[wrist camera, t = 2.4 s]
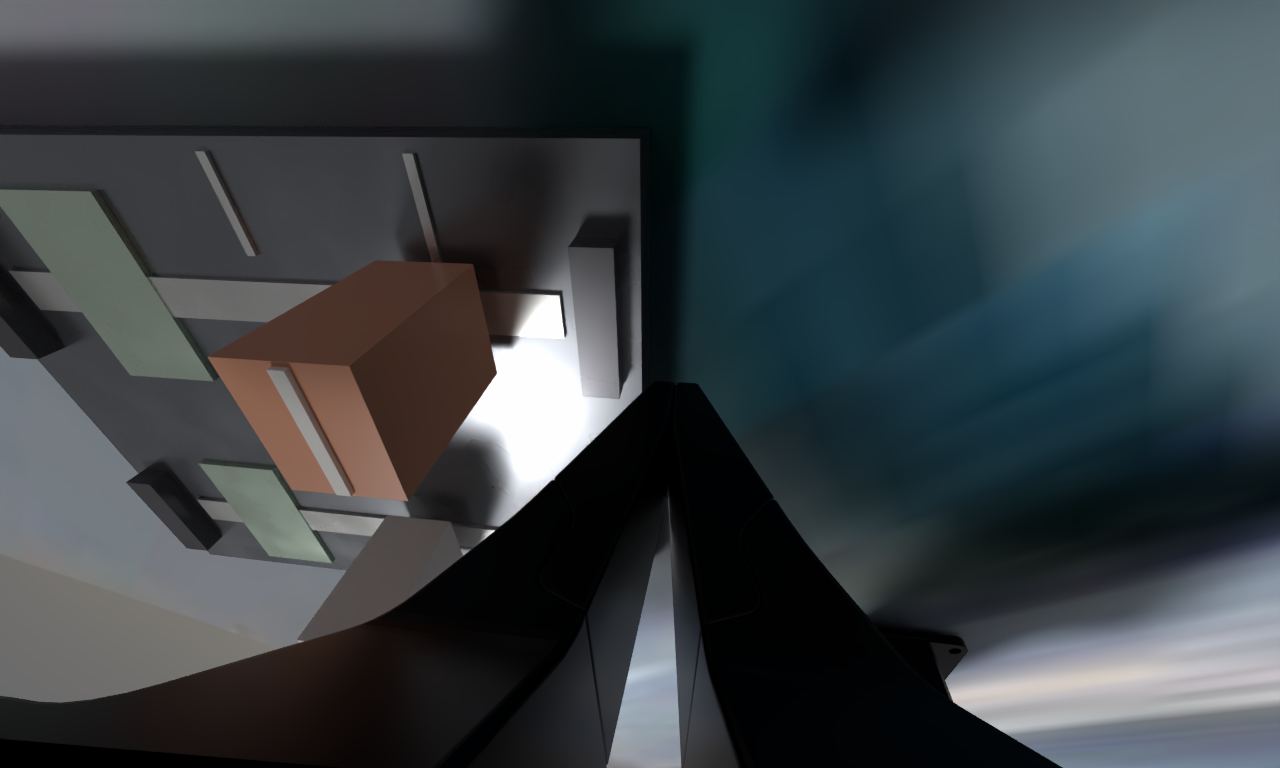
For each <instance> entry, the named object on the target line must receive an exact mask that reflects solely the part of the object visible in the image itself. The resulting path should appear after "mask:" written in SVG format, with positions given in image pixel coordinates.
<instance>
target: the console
mask: <svg viewBox="0 0 1280 768" xmlns="http://www.w3.org/2000/svg"><path fill="white" fill-rule="evenodd" d="M650 150H651V128H506V127H248V126H0V346H1V347H2V348H3V349H4V350H5V352H6V353H7V354H8V355H9V356H10V357H14V358H29V359H38V361H39V362H40V363H41V364H42V365H43V366H44V367H45V368H46V370H47V371H48V372H49V373H50V374H51V375H52V376H53V377H54V379H55V380H56V381H57V382H58V383H59V384H60V385H61V386H62V388H63V389H64V390H65V391H66V392H67V393H68V394H69V395H70V397H71V398H72V399H73V400H74V401H75V402H76V403H77V405H78V406H79V407H80V408H81V409H82V410H83V411H84V412H85V414H86V415H87V416H88V417H89V418H90V419H91V420H92V421H93V423H94V424H95V425H96V426H97V427H98V428H99V429H100V430H101V432H102V433H103V434H104V435H105V436H106V437H107V438H108V439H109V441H110V442H111V443H112V444H113V445H114V446H115V447H116V448H117V450H118V451H119V452H120V453H121V454H122V455H123V456H124V458H125V459H126V460H127V461H128V462H129V463H130V464H131V465H132V467H133V468H134V469H135V470H136V471H137V472H138V473H139V474H137V475H136V476H135V477H133V478H132V479H130V480H129V481H128V482H126V483H127V484H128V485H129V486H130V487H131V488H132V489H133V490H134V491H135V492H136V494H137V495H138V496H139V497H140V498H141V499H142V500H143V501H144V502H145V503H146V504H147V505H148V507H149V508H150V509H151V510H152V511H153V512H154V513H155V514H156V515H157V516H158V517H159V518H160V520H161V521H162V522H163V523H164V524H165V525H166V526H167V527H168V528H169V529H170V530H171V531H172V533H173V534H174V535H175V536H176V537H177V538H178V539H179V540H180V541H181V542H182V543H183V544H184V546H185V547H186V548H189V549H198V550H207V551H208V552H209V553H210V554H212V555H221V556H229V557H238V558H246V559H255V560H263V561H272V562H280V563H289V564H297V565H306V566H314V567H323V568H331V569H340V570H348V569H349V567H350V566H351V564H352V563H353V562H354V560H355V559H356V558H357V556H358V555H359V553H360V552H361V551H362V549H363V548H364V547H365V545H366V544H367V542H368V541H369V540H370V538H371V537H372V535H373V534H374V533H375V531H376V530H377V529H378V527H379V526H380V524H381V523H382V522H383V520H384V519H385V517H386V516H387V515H390V516H400V517H410V518H419V519H429V520H439V521H449V522H451V525H452V528H453V530H454V533H455V536H456V538H457V541H458V544H459V546H460V549H461V552H462V554H463V556H464V555H465V554H466V553H467V552H469V551H470V550H471V549H472V548H474V547H475V546H476V545H478V544H479V543H480V542H481V541H483V540H484V539H485V538H487V537H488V536H489V535H490V534H491V533H493V532H494V531H495V530H496V529H498V528H499V527H500V526H501V525H502V524H504V523H505V522H506V521H507V520H509V519H510V518H511V517H512V516H513V515H515V514H516V513H517V512H518V511H519V510H520V509H521V508H522V507H523V506H525V505H526V504H527V503H528V502H529V501H530V500H531V499H532V498H533V497H534V496H535V495H537V494H538V493H539V492H540V491H541V490H542V489H543V488H544V487H545V486H546V485H547V484H548V483H549V482H550V481H551V480H554V478H555V476H556V475H557V474H558V473H560V472H561V471H562V470H563V469H564V468H565V467H566V466H567V465H568V464H569V463H570V462H571V461H572V460H573V459H574V458H575V457H576V456H577V455H578V454H579V453H580V452H581V451H582V450H583V449H584V448H585V447H586V446H587V445H588V444H589V443H590V442H591V441H592V440H593V439H594V438H595V437H596V436H598V435H599V434H600V433H601V432H602V431H603V430H604V429H605V428H606V427H607V426H608V425H609V424H610V423H611V422H612V421H613V420H614V419H615V418H616V417H617V416H618V415H619V414H620V413H621V412H622V411H623V410H624V409H625V408H626V407H627V406H628V405H629V404H630V403H631V402H632V401H633V400H635V399H636V398H637V397H638V396H639V395H640V394H641V393H642V392H643V391H644V390H645V389H646V388H647V387H648V386H649V385H650ZM375 260H380V261H406V262H433V263H459V264H473V266H474V270H475V275H476V279H477V284H478V288H479V293H480V298H481V302H482V307H483V311H484V316H485V320H486V325H487V329H488V334H489V338H490V343H491V347H492V352H493V356H494V361H495V365H496V370H497V375H496V376H495V378H494V379H493V380H492V382H491V383H490V385H489V386H488V388H487V389H486V391H485V392H484V393H483V395H482V396H481V398H480V399H479V401H478V402H477V403H476V405H475V406H474V408H473V409H472V411H471V412H470V413H469V415H468V416H467V418H466V419H465V421H464V422H463V423H462V425H461V426H460V428H459V429H458V431H457V432H456V434H455V435H454V436H453V438H452V439H451V441H450V442H449V444H448V445H447V446H446V448H445V449H444V451H443V452H442V454H441V455H440V456H439V458H438V459H437V461H436V462H435V464H434V465H433V466H432V468H431V469H430V471H429V472H428V474H427V475H426V477H425V478H424V479H423V481H422V482H421V484H420V485H419V487H418V488H417V489H416V491H415V492H414V494H413V495H412V497H411V498H410V499H409V501H401V500H391V499H381V498H370V497H360V496H341V495H336V494H330V493H320V492H309V491H299V490H292V489H291V487H290V486H289V484H288V483H287V481H286V480H285V478H284V476H283V475H282V473H281V472H280V470H279V469H278V467H277V465H276V464H275V462H274V461H273V459H272V458H271V456H270V454H269V453H268V451H267V450H266V448H265V447H264V445H263V443H262V442H261V440H260V439H259V437H258V436H257V434H256V432H255V431H254V429H253V428H252V426H251V425H250V423H249V421H248V420H247V418H246V417H245V415H244V414H243V412H242V410H241V409H240V407H239V406H238V404H237V403H236V401H235V399H234V398H233V396H232V395H231V393H230V392H229V390H228V389H227V387H226V385H225V384H224V382H223V381H222V379H221V378H220V376H219V374H218V373H217V371H216V370H215V368H214V367H213V365H212V363H211V362H210V360H209V359H208V356H210V355H212V354H213V353H215V352H217V351H219V350H220V349H222V348H224V347H226V346H227V345H229V344H231V343H233V342H234V341H236V340H238V339H240V338H241V337H243V336H245V335H247V334H248V333H250V332H252V331H253V330H255V329H257V328H259V327H260V326H262V325H264V324H266V323H267V322H269V321H271V320H273V319H274V318H276V317H278V316H280V315H281V314H283V313H285V312H287V311H288V310H290V309H292V308H294V307H295V306H297V305H299V304H301V303H302V302H304V301H306V300H308V299H309V298H311V297H313V296H314V295H316V294H318V293H320V292H321V291H323V290H325V289H327V288H328V287H330V286H332V285H334V284H335V283H337V282H339V281H341V280H342V279H344V278H346V277H348V276H349V275H351V274H353V273H355V272H356V271H358V270H360V269H362V268H363V267H365V266H367V265H368V264H370V263H372V262H374V261H375ZM643 605H644V604H643Z"/></svg>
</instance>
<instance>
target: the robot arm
mask: <svg viewBox="0 0 1280 768" xmlns="http://www.w3.org/2000/svg"><path fill="white" fill-rule="evenodd" d="M668 485H669V490H668ZM667 493H668V508H669V528H670V548H671V568H672V588H673V608H674V628H675V648H676V668H677V688H678V708H679V728H680V748H681V768H1062V767H1061V766H1059V765H1057V764H1055V763H1054V762H1052V761H1050V760H1049V759H1047V758H1045V757H1044V756H1042V755H1040V754H1039V753H1037V752H1035V751H1034V750H1032V749H1030V748H1029V747H1027V746H1025V745H1024V744H1022V743H1020V742H1018V741H1017V740H1015V739H1013V738H1012V737H1010V736H1008V735H1007V734H1005V733H1003V732H1002V731H1000V730H998V729H997V728H995V727H993V726H992V725H990V724H988V723H987V722H985V721H983V720H981V719H980V718H978V717H976V716H975V715H973V714H971V713H970V712H968V711H966V710H965V709H963V708H961V707H960V706H958V705H957V704H955V703H954V702H953V700H952V698H951V695H950V693H949V690H948V687H947V685H946V682H945V679H946V678H947V677H948V675H949V674H950V673H951V672H952V671H953V669H954V668H955V667H956V666H957V664H958V663H959V662H960V661H961V660H962V658H963V657H964V656H965V655H966V653H967V651H968V650H967V647H966V645H965V643H964V641H963V639H962V638H960V637H956V636H948V635H939V634H931V633H922V632H914V631H905V630H896V629H888V628H879V627H876V626H875V625H874V624H873V622H872V621H871V620H870V619H869V618H868V617H867V615H866V614H865V613H864V612H863V611H862V610H861V608H860V607H859V606H858V605H857V604H856V603H855V601H854V600H853V599H852V598H851V597H850V596H849V594H848V593H847V592H846V591H845V590H844V589H843V587H842V586H841V585H840V584H839V583H838V582H837V580H836V579H835V578H834V577H833V576H832V574H831V573H830V572H829V571H828V570H827V568H826V567H825V566H824V565H823V564H822V562H821V561H820V560H819V559H818V557H817V556H816V555H815V554H814V553H813V551H812V550H811V549H810V548H809V546H808V545H807V544H806V543H805V541H804V540H803V538H802V537H801V536H800V534H799V533H798V532H797V530H796V529H795V527H794V526H793V525H792V523H791V522H790V520H789V519H788V518H787V516H786V515H785V513H784V512H783V510H782V509H781V507H780V506H779V504H778V502H777V501H776V500H774V497H773V495H772V494H771V492H770V491H769V489H768V488H767V486H766V485H765V483H764V482H763V480H762V479H761V477H760V476H759V474H758V473H757V472H756V470H755V469H754V467H753V466H752V464H751V463H750V461H749V460H748V458H747V457H746V455H745V454H744V452H743V451H742V449H741V448H740V446H739V445H738V443H737V442H736V440H735V439H734V437H733V436H732V434H731V433H730V431H729V430H728V428H727V427H726V425H725V424H724V422H723V421H722V419H721V418H720V416H719V415H718V413H717V412H716V410H715V409H714V407H713V406H712V404H711V403H710V401H709V400H708V398H707V397H706V395H705V394H704V392H703V391H702V389H701V388H700V386H699V385H698V384H696V383H681V382H679V383H677V384H676V386H675V384H674V383H673V382H666V381H654V382H652V383H651V384H650V385H649V386H648V387H647V388H646V389H645V390H644V391H643V392H642V393H641V394H640V395H639V396H638V397H637V398H636V399H635V400H633V401H632V402H631V403H630V404H629V405H628V406H627V407H626V408H625V409H624V410H623V411H622V412H621V413H620V414H619V415H618V416H617V417H616V418H615V419H614V420H613V421H612V422H611V423H610V424H609V425H608V426H607V427H606V428H605V429H604V430H603V431H602V432H601V433H600V434H599V435H598V436H596V437H595V438H594V439H593V440H592V441H591V442H590V443H589V444H588V445H587V446H586V447H585V448H584V449H583V450H582V451H581V452H580V453H579V454H578V455H577V456H576V457H575V458H574V459H573V460H572V461H571V462H570V463H569V464H568V465H567V466H566V467H565V468H564V469H563V470H562V471H561V472H560V473H558V474H557V475H556V476H555V478H554V480H551V481H550V482H549V483H548V484H547V485H546V486H545V487H544V488H543V489H542V490H541V491H540V492H539V493H538V494H537V495H535V496H534V497H533V498H532V499H531V500H530V501H529V502H528V503H527V504H526V505H525V506H523V507H522V508H521V509H520V510H519V511H518V512H517V513H516V514H515V515H513V516H512V517H511V518H510V519H509V520H507V521H506V522H505V523H504V524H502V525H501V526H500V527H499V528H498V529H496V530H495V531H494V532H493V533H491V534H490V535H489V536H488V537H487V538H485V539H484V540H483V541H481V542H480V543H479V544H478V545H476V546H475V547H474V548H472V549H471V550H470V551H469V552H467V553H466V554H465V555H464V556H462V557H461V558H460V559H458V560H457V561H456V562H455V563H453V564H452V565H451V566H449V567H448V568H447V569H446V570H444V571H443V572H442V573H440V574H439V575H438V576H437V577H435V578H434V579H433V580H432V581H430V582H429V583H428V584H426V585H425V586H424V587H423V588H421V589H420V590H419V591H417V592H416V593H415V594H413V595H412V596H411V597H409V598H408V599H406V600H405V601H404V602H402V603H400V604H399V605H397V606H396V607H394V608H393V609H391V610H389V611H387V612H386V613H384V614H382V615H380V616H378V617H376V618H374V619H372V620H369V621H367V622H365V623H362V624H360V625H357V626H354V627H351V628H347V629H344V630H341V631H337V632H334V633H331V634H327V635H324V636H320V637H317V638H314V639H310V640H307V641H304V642H300V643H297V644H293V645H290V646H287V647H283V648H280V649H277V650H273V651H270V652H267V653H263V654H260V655H256V656H253V657H250V658H246V659H243V660H239V661H236V662H233V663H230V664H226V665H223V666H219V667H216V668H213V669H209V670H206V671H202V672H199V673H195V674H192V675H189V676H185V677H182V678H179V679H176V680H172V681H168V682H165V683H162V684H159V685H154V686H151V687H147V688H143V689H139V690H136V691H131V692H128V693H123V694H118V695H113V696H107V697H102V698H97V699H92V700H83V701H74V702H64V703H55V702H54V703H53V702H37V701H30V700H25V699H19V698H12V697H4V696H0V768H607V767H606V765H607V764H608V761H609V756H610V752H611V747H612V743H613V738H614V734H615V729H616V725H617V720H618V716H619V711H620V707H621V702H622V698H623V694H624V689H625V685H626V680H627V676H628V671H629V667H630V662H631V658H632V653H633V649H634V644H635V640H636V635H637V631H638V626H639V622H640V617H641V613H642V608H643V604H644V599H645V595H646V590H647V586H648V581H649V577H650V572H651V568H652V563H653V559H654V555H655V550H656V546H657V541H658V537H659V532H660V528H661V523H662V519H663V514H664V510H665V505H666V500H667Z"/></svg>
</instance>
